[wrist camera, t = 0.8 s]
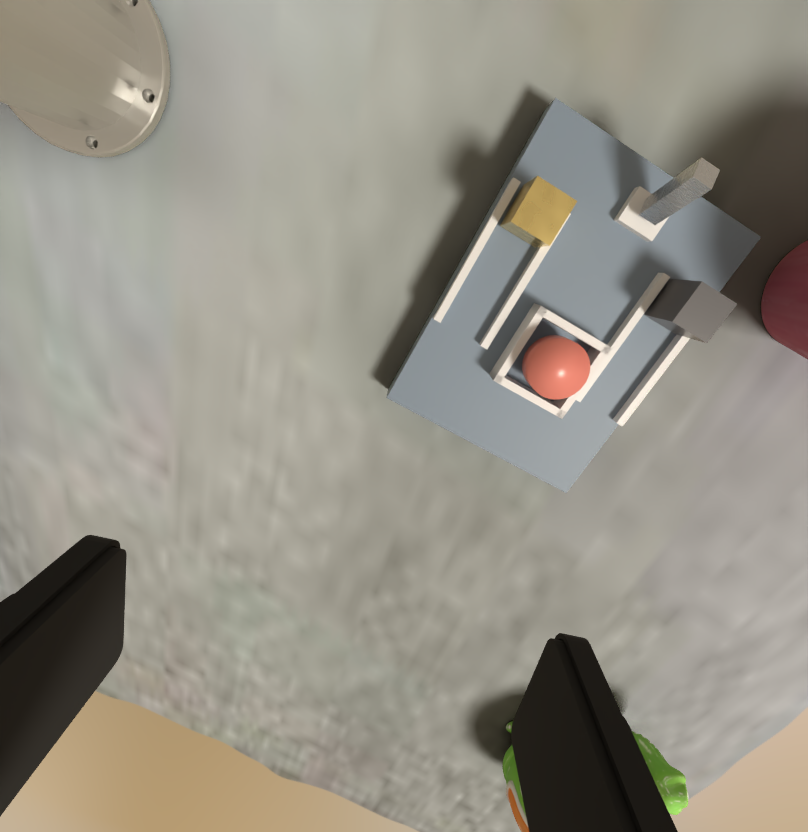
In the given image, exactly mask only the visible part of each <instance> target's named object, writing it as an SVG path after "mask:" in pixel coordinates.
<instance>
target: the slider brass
mask: <svg viewBox="0 0 808 832" xmlns="http://www.w3.org/2000/svg"><path fill="white" fill-rule="evenodd" d="M576 203H577V200H575V199H573V198H572V197H570V196H569V195H567V194H566V193H564V192H563V191H561V190H559V189H558V188H556V187H555V186H553V185H552V184H550V183H549V182H547V181H545V180H544V179H542V178H541V177H539V176H536V177H535V178H533V179H532V180H530V181H529V182H527V183H526V184H524V185H523V186H522V188H521V190H520V191H519V193H518V195H517V197H516V198H515V200H514V202H513V204H512V205H511V207H510V209H509V211H508V212H507V214H506V216H505V218H504V219H503V221H502V223H501V225H500V226H501V227H502V228H504V229H505V230H507V231H509V232H510V233H512V234H514V235H515V236H517V237H518V238H520V239H522V240H523V241H525V242H527V243H528V244H530V245H531V246H533V247H543V246H550V245H551V243H552V242H553V240H554V238H555V237H556V235H557V234H558V232H559V230H560V229H561V227H562V225H563V224H564V222H565V221H566V219H567V217H568V216H569V214H570V212H571V211H572V209H573V208H574V206H575V204H576Z"/></svg>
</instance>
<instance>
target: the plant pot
mask: <svg viewBox="0 0 808 832" xmlns="http://www.w3.org/2000/svg"><path fill="white" fill-rule="evenodd" d="M761 313H762V319H763V323H764V325H765V327H766V329H767V331H768V332H769V334H770V335H771V336H772V337H773V338H774V339H775V340H776V341H778V342H779V343H781V344H782V345H784V346H786V347H788V348H790V349H791V350H793V351H795V352H796V353H798V354H800V355H801V356H803V357H805V358H806V359H808V240H807V241H805V242H803V243H802V244H800V245H798V246H797V247H796V248H794V249H793V250H792V251H790V252H789V253H788V254H787V255H786V256H785V257H784V258H783V259H782V260H781V261H780V262H779V264H778V265H777V266H776V267H775V269H774V270H773V272H772V273H771V275H770V277H769V279H768V281H767V283H766V286H765V289H764V292H763V296H762V301H761Z"/></svg>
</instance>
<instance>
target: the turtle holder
mask: <svg viewBox="0 0 808 832" xmlns="http://www.w3.org/2000/svg"><path fill="white" fill-rule="evenodd" d="M512 723H513V721H511V722H509V723H508V724H507V725H506V730H507V731H508V732H510V733H511V728H512ZM632 733H633V735H634V737H635V740H636V742H637V744H638V746H639V748H640V750H641V753H642V755H643V757H644V759H645V761H646V764H647V766H648V768H649V770H650V772H651V775H652V777H653V779H654V781H655V783H656V786H657V788H658V790H659V792H660V794H661V797H662V799H663V801H664V803H665V805H666V808H667V810H668V812H669V813H670V814H673V815H677V814H679V813H680V812H681V811H682V809H683V808H685V807H687V805H688V792H687V789H686V784H685V782H686V778H685V776H684V775H683V774H682V773H681V772H680V771H678V770H677V769H675V768H673V767H671V766H670V765H669V764H668V763H667V762H666V760H665V759H664V757H663V756H662V755H661V753H660V752H659V750H658V749H656V748H655V746H654V745H653V744H651V743H650V741H649V740H648V739H646V738H644V737H643V736H642V735H641V734H636V733H635V732H632ZM503 773H504V777H505V779H506V783H507V786H506V796H507V798H508V800H509V802H510V805H511V808H512V811H513V814H514V817H515V819H516V822H517V824H518V826H519V828H520V830H521V831H522V832H529V828H528V823H527V818H526V813H525V808H524V803H523V798H522V792H521V787H520V782H519V777H518V772H517V767H516V762H515V757H514V752H513V746H512V745H511V746H510V747H509V749H508V750H507V751H506V753H505V756H504V759H503Z"/></svg>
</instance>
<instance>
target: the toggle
mask: <svg viewBox="0 0 808 832" xmlns="http://www.w3.org/2000/svg"><path fill="white" fill-rule="evenodd" d="M719 172H720V170H719V169H718V168H716V167H715V166H714V165H712V164H711V163H709V162H708V161H706V160H705V159H703V158H702V157H701V158H700V159H699V160H697V161H696V162H695V163H693V164H692V165H691V166H689V167H688V168H687V169H685V170H684V171H682V172H681V173H680V174H678V175H677V176H676V177H674V178H673V179H672V180H670V181H669V182H668V183H666V184H665V185H663V186H662V187H661V188H659V189H658V190H657V191H655V192H654V193H653V194H651V195H650V196H649V197H647V198H646V200H645V202H644V204H643V207H642V209H641V211H640V213H639V215H640V216H641V217H643V218H644V219H646V220H647V221H649V222H650V223H652V224H653V225H657V224H658V223H660V222H661V221H663V220H664V219H666V218H668V217H669V216H671V215H672V214H674V213H675V212H677V211H679V210H680V209H682V208H683V207H685V206H686V205H688V204H690V203H691V202H693V201H694V200H696V199H697V198H699V197H701V196H702V195H704V194H705V193H707V192H708V191H710V190H711V189H712V188H713V185H714V183H715V181H716V178H717V176H718V174H719Z"/></svg>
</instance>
